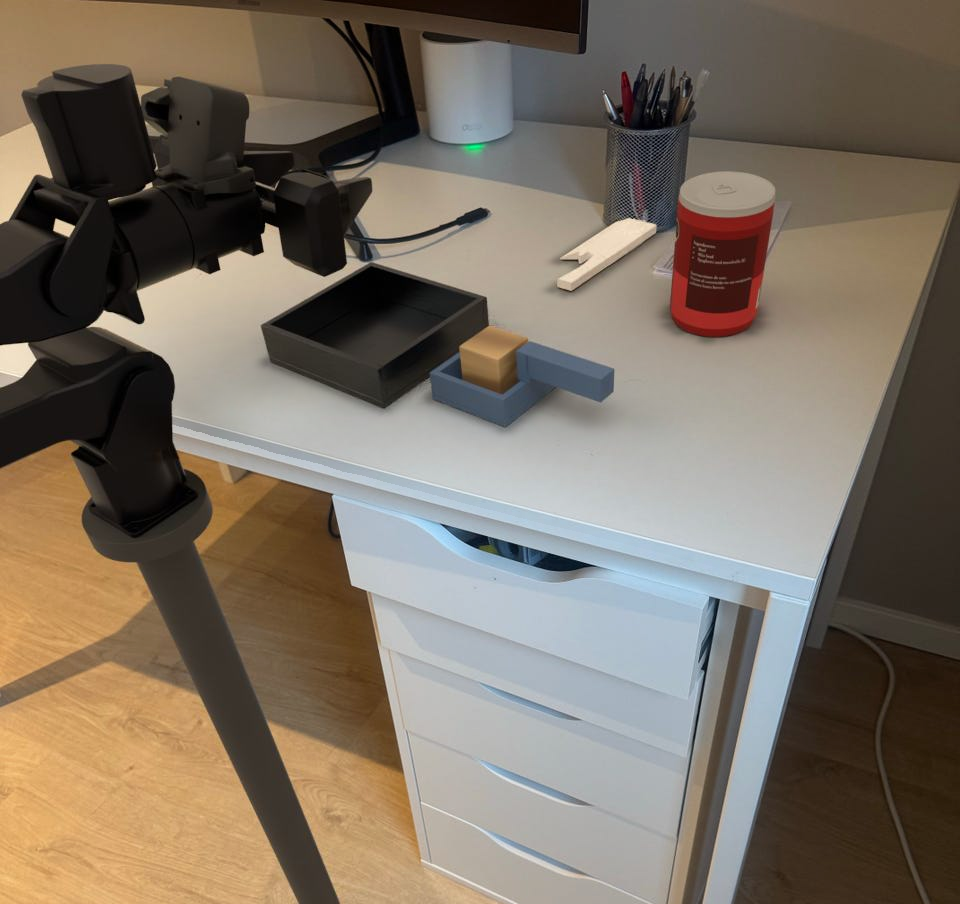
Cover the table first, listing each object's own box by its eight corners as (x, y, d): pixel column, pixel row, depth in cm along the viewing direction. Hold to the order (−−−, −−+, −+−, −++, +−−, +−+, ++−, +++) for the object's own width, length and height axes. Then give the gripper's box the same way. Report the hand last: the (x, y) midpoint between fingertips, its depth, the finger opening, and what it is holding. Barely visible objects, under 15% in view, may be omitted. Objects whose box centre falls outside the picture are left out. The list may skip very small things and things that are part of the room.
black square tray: (384, 408, 75) (377, 369, 72) (270, 362, 82) (260, 325, 79) (489, 334, 82) (487, 296, 79) (377, 297, 89) (371, 261, 86)
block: (500, 404, 73) (497, 359, 70) (463, 390, 75) (458, 346, 72) (530, 381, 75) (528, 337, 72) (492, 368, 77) (489, 324, 74)
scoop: (578, 455, 68) (578, 398, 65) (432, 399, 75) (425, 344, 72) (633, 407, 72) (636, 350, 69) (489, 358, 79) (485, 304, 76)
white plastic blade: (529, 279, 89) (529, 268, 88) (616, 224, 96) (616, 213, 95) (571, 291, 86) (571, 279, 85) (657, 233, 94) (657, 222, 93)
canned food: (719, 288, 85) (734, 163, 77) (775, 322, 80) (798, 192, 72) (651, 311, 83) (659, 185, 75) (704, 347, 78) (719, 217, 70)
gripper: (227, 132, 54) (407, 76, 62) (59, 78, 63) (237, 35, 71) (260, 310, 62) (416, 240, 70) (107, 240, 71) (262, 184, 79)
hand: (330, 171), depth 73 cm, fingers open, 9 cm apart
